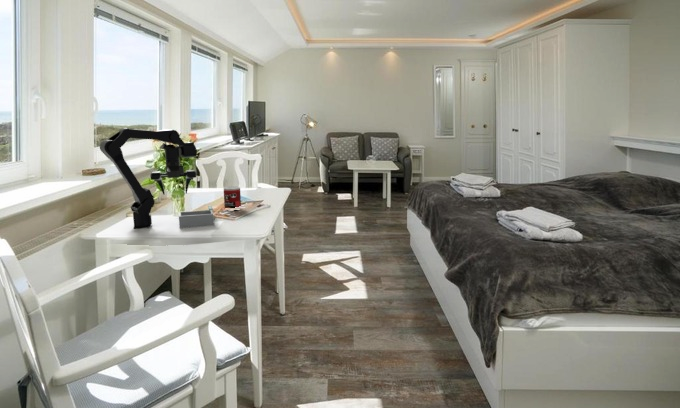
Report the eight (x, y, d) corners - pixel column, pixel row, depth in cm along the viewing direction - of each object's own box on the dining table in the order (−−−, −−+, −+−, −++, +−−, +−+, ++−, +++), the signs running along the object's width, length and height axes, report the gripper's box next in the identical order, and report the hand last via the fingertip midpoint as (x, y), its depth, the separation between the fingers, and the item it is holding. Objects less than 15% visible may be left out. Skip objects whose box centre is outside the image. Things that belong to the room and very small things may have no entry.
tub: (179, 228, 199) (178, 216, 198) (179, 223, 208) (178, 212, 207) (214, 225, 204) (213, 214, 203) (212, 220, 212) (211, 209, 211)
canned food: (221, 210, 232) (220, 188, 230) (232, 207, 239) (231, 186, 236) (233, 212, 228) (232, 189, 226) (244, 209, 235) (243, 187, 233)
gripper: (148, 161, 196) (151, 198, 200) (195, 159, 202) (197, 196, 205) (149, 158, 207) (152, 194, 210) (194, 157, 213) (196, 191, 216)
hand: (175, 194), depth 210 cm, fingers open, 9 cm apart
